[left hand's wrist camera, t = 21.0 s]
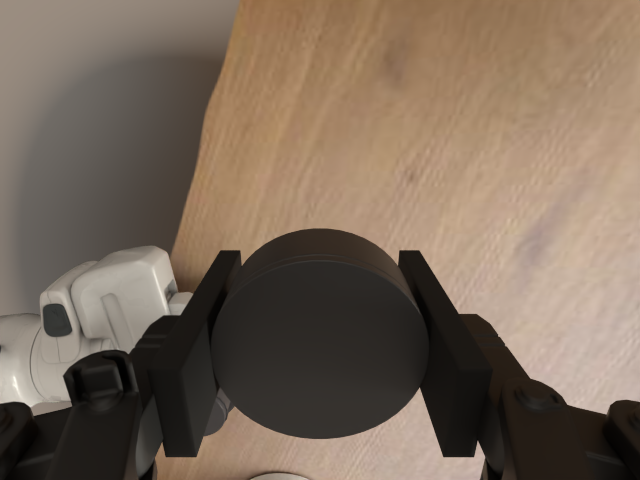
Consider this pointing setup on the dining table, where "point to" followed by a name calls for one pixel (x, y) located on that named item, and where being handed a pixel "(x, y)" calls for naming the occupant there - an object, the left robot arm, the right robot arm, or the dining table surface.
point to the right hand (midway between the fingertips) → (232, 340)
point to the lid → (319, 336)
